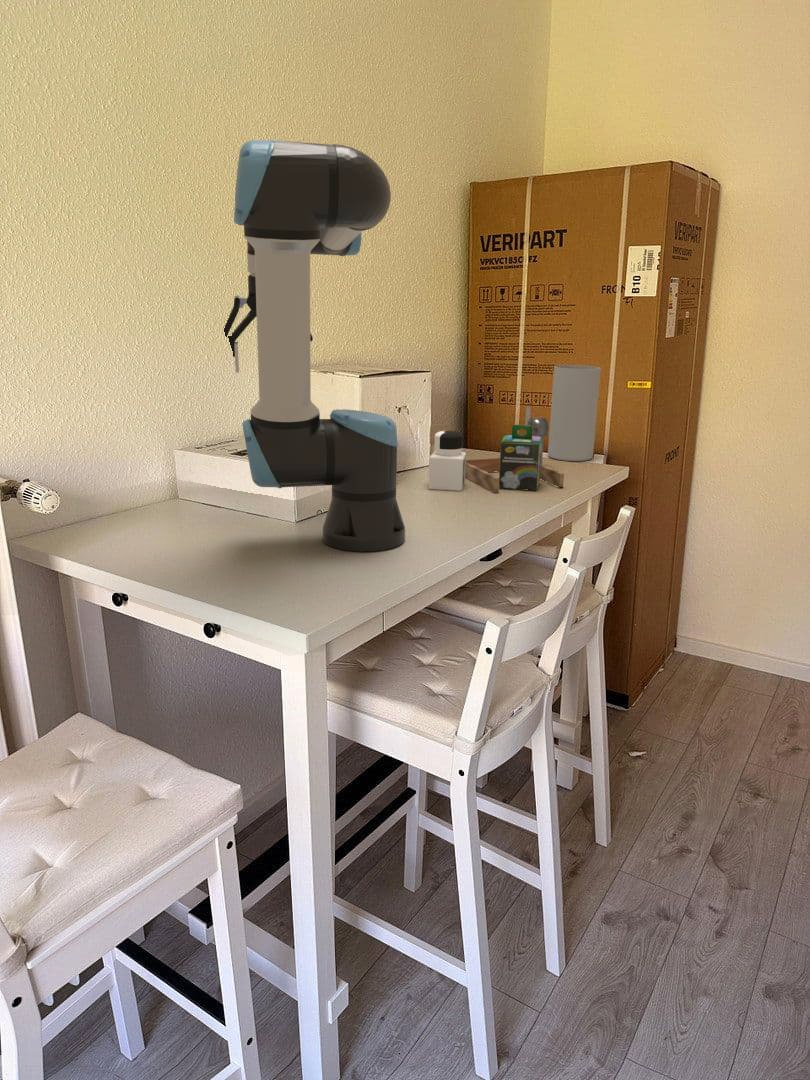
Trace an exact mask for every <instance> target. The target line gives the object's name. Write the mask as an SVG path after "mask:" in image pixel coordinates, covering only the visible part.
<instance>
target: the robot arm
mask: <svg viewBox="0 0 810 1080" xmlns="http://www.w3.org/2000/svg"><path fill="white" fill-rule="evenodd" d="M236 169H237V171H236V172H237V173H236V182H235V191H234V193H235V194H234V210H233V211H234V212H233V221H234V224H236V225H238V226H243V233H244V234H243V237H244V239H245V240H246V244H247V249H246V250H247V253H246V254H247V256H246V257H247V258H246V259H247V272H248V273H249V275H248V276H247V285H248V286H247V288H248V295H247V297H240V296H239V295H235V296H234V299H233V300H234V301H233V306H232V309H231V310H230V313H229V315H228V317H229V318H227V319H228V320H227V319H226V321H227V323H226V322H225V324H226V325H225V324H224V326H225V328H224V327H223V328H224V332H225V336H226V337H227V335H228V334H229V332H230V330H231V328H232V326H233V324H234V322H235V320H236V318H237V316H238V313H239V311H240V309H242V308H243V307H244V305H247V306H248V308H249V310H250V311H249V312H248V313H247V314H246V315H245V317H244V318H243V319H242V320H241V322H240V323H239V324H238V325H237V327H236V328H235V329H234V330H233V331H234V332H233V331H232V333H231V334H232V336H228V338H229V342H230V345H231V348H232V351H233V357H232V358H234V366H235V373H236V374H237V373H240V364H239V363H240V362H239V359H238V358H239V341H238V340H237V339H238V338H239V337H240V336H241V335H242V333H243V332H244V331H245V330H246V328H247V327H248V326H249V325H250V324H251V323H252V322H253V321H254V320H255V318H256V332H257V333H256V334H257V364H258V365H257V371H258V372H257V373H258V395H259V396H258V398H259V399H258V401H257V402H256V403H255V404H254V405H253V406H252V407H251V408H250V418H247V419H246V420H243V421H242V430H243V436H244V441H245V447H246V454H247V458H248V464H249V469H250V476H251V479H252V482H253V483H254V484H255V485H256V486H258V487H259V488H278V489H282V488H299V487H303V488H304V487H317V486H319V487H320V486H322V487H323V486H331V500H330V503H329V507H328V510H327V513H326V516H325V519H324V523H323V526H322V541H323V543H324V544H325V545H327V546H329V547H332V548H335V549H339V550H344V551H351V552H377V551H385V550H390V549H393V548H396V547H399V546H402V545H403V543H405V542H406V541H405V540H406V527H405V523H404V521H403V518H402V514H401V510H400V507H399V504H398V501H397V472H398V471H397V469H398V467H397V465H398V460H397V459H398V447H399V443H398V433H397V431H398V429H397V424H396V422H395V421H394V420H393V419H392V418H390V417H389V416H386V415H383V414H379V413H375V412H369V411H363V410H355V409H346V408H345V409H333V410H332V411H331V413H330V415H329V418H321V416H320V413H321V411H320V409H319V408H318V407H317V405H315V404H314V403H313V402H312V400H311V398H312V397H311V391H312V390H311V388H312V387H311V386H312V385H311V384H312V383H311V342H312V341H313V338H314V337H313V335H312V332H311V255H320V256H321V255H323V256H325V255H326V256H340V257H346V256H356V255H358V253H359V252H360V251H361V246H362V232H364V231H369V230H370V229H374V227H376V226H377V225H378V224H379V223H380V222H381V221H382V220H383V219H384V218H385V217H386V215H387V214H388V211H389V208H390V204H391V198H392V197H391V196H392V192H391V186H390V183H389V180H388V178H387V176H386V174H385V173H384V171H383V169H382V168H381V167H380V165H379V164H378V163H377V162H376V161H374V159H372V158H371V157H370V156H369V155H367V154H366V153H364V152H363V151H360V150H358V149H356V148H354V147H351V146H347V145H343V144H334V143H333V144H327V143H326V144H325V143H316V142H315V143H314V142H313V143H312V142H300V141H290V140H289V141H287V140H278V139H277V140H276V139H273V138H272V139H260V140H259V139H258V140H248V141H246V142H244V143H243V144H242V146H241V147H240V149H239V155H238V161H237V168H236ZM235 341H237V342H235Z"/></svg>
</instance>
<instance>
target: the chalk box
mask: <svg viewBox="0 0 810 1080" xmlns="http://www.w3.org/2000/svg"><path fill="white" fill-rule="evenodd" d="M519 430H524V431H525V434H520V433H518V431H519ZM526 431H527V433H526ZM499 448H500V449H499V450H500V451H499V458H500V472H498V473H499V475H498V478H499V488H501V489H504V488H514V489H513V490H516V489H528V490H537V491H538V488H539V485H540V483H541V480H540V469H541V450H542V436H532V426H531V425H525V424H513V425H512V427H511V434H506V435H504V436H503V438H502V440H501V441H500V447H499Z"/></svg>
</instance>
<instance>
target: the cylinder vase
mask: <svg viewBox="0 0 810 1080" xmlns="http://www.w3.org/2000/svg"><path fill="white" fill-rule="evenodd" d="M601 369H602V367H599V366H592V365H579V364H578V365H577V364H576V365H573V364H562V365H559V364H558V365H554V367H553V377H552V380H553V381H552V390H551V391H552V392H551V406H550V407H551V408H550V419H549V430H548V433H549V434H548V444H547V445H548V447H547V455H548V457H549V458H551V459H554V460H558V461H565V462H586V461H590V460H592V458H593V457H594V447H595V438H596V437H595V436H596V428H597V427H596V425H597V417H598V416H597V415H598V405H599V394H600V382H601V372H602V370H601Z"/></svg>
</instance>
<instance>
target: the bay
mask: <svg viewBox="0 0 810 1080" xmlns="http://www.w3.org/2000/svg"><path fill="white" fill-rule="evenodd" d="M494 471H500V457H489V458H487V457H486V458H474V459H473V458H472V459H466V469H465V479H467V480H469V481H470V480H471V482H472V483H474V484H476V483H477V484H476V485H478V484H479V485H478V486H480V485H481V486H480V487H482V486H483V487H482V488H484V487H485V488H484V489H486V488H487V489H489V490H491V491H493V492H498V493H499V476H496V475H494V474H493V473H495V472H494ZM488 472H491V473H488ZM540 479H542V480H544V481H547V482H549V483H551V484H553V485H556V486H558V487H563V488H564V479H565V473H564V472H561V471H558V470H556V469H554V468H551V467H549V466H546V465H543V464H542V465H541V469H540ZM544 481H543V482H544ZM553 485H552V486H553ZM487 489H486V490H487ZM489 490H488V491H489ZM491 491H490V492H491ZM493 492H492V493H493Z"/></svg>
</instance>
